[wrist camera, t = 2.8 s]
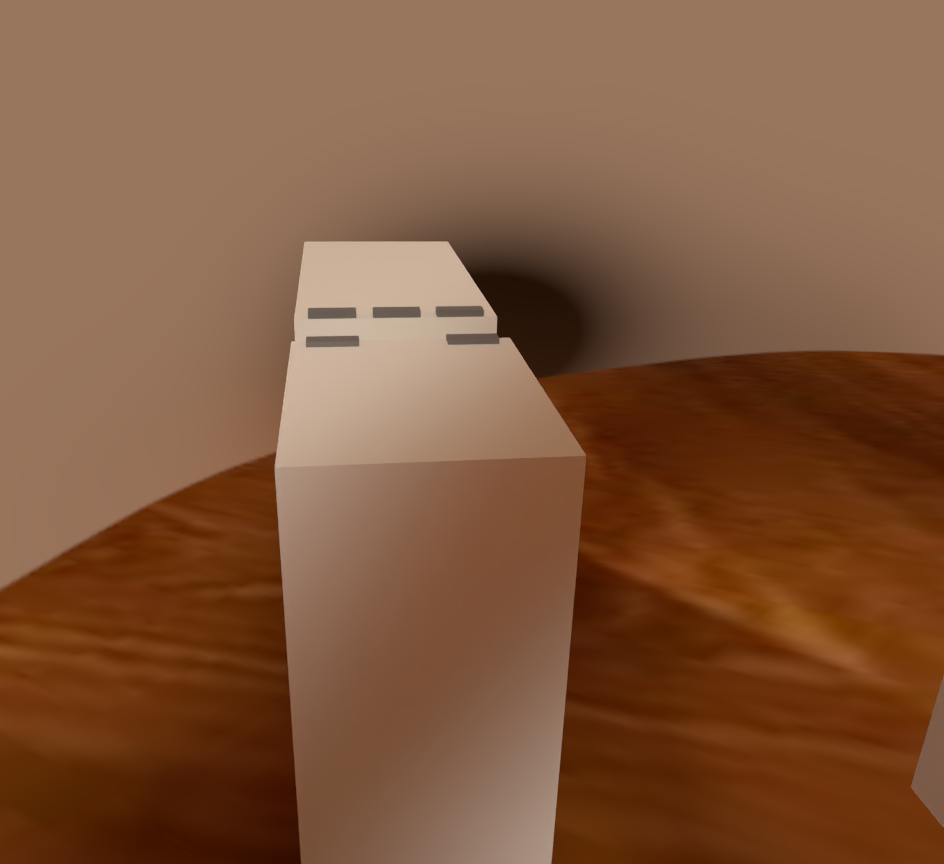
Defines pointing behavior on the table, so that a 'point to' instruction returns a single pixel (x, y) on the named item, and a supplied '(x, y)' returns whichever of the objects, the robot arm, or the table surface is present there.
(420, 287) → the white slotted block
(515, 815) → the stub
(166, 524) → the table surface
